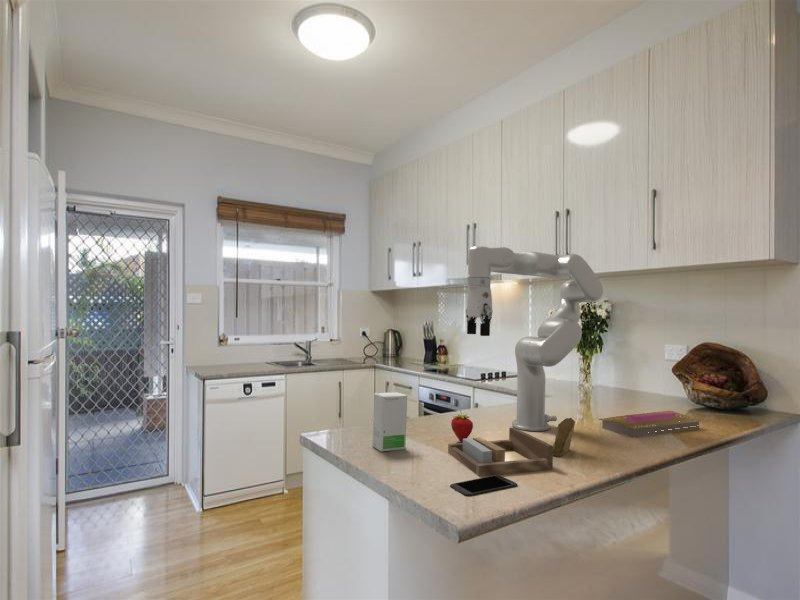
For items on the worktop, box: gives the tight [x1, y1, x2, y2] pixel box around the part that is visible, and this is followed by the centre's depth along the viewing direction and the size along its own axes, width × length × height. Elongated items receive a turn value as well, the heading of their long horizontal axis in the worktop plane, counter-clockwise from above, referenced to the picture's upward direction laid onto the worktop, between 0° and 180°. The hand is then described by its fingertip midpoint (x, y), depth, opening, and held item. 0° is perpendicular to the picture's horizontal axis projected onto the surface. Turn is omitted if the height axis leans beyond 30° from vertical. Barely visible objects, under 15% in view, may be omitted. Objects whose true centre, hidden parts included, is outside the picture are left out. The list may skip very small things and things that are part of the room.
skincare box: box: [372, 392, 408, 453], centre depth 136 cm, size 8×7×16 cm
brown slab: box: [598, 410, 703, 439], centre depth 165 cm, size 35×14×6 cm, turn 114°
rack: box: [447, 426, 554, 477], centre depth 126 cm, size 21×19×6 cm
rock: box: [552, 417, 576, 458], centre depth 135 cm, size 11×9×10 cm
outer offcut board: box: [462, 437, 492, 464], centre depth 124 cm, size 2×12×5 cm, turn 17°
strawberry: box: [450, 410, 474, 443], centre depth 142 cm, size 6×8×10 cm
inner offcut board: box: [472, 436, 506, 463], centre depth 125 cm, size 2×12×5 cm, turn 21°
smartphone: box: [449, 474, 518, 498], centre depth 108 cm, size 7×15×1 cm, turn 118°
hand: (478, 334), depth 155 cm, fingers open, 9 cm apart
